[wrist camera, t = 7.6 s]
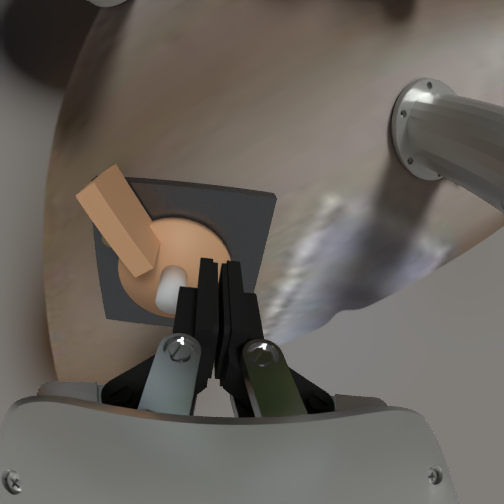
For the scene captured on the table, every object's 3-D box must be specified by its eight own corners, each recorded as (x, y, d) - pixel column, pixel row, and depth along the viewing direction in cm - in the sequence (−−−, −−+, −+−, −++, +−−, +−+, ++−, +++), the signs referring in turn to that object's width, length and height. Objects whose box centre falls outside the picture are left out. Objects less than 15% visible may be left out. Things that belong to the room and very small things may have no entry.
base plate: (273, 193, 28) (287, 215, 23) (242, 322, 37) (247, 354, 32) (96, 175, 24) (74, 195, 19) (108, 310, 33) (99, 341, 28)
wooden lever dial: (162, 134, 21) (148, 145, 17) (250, 286, 31) (257, 322, 27) (64, 201, 23) (39, 226, 18) (161, 323, 33) (157, 358, 28)
